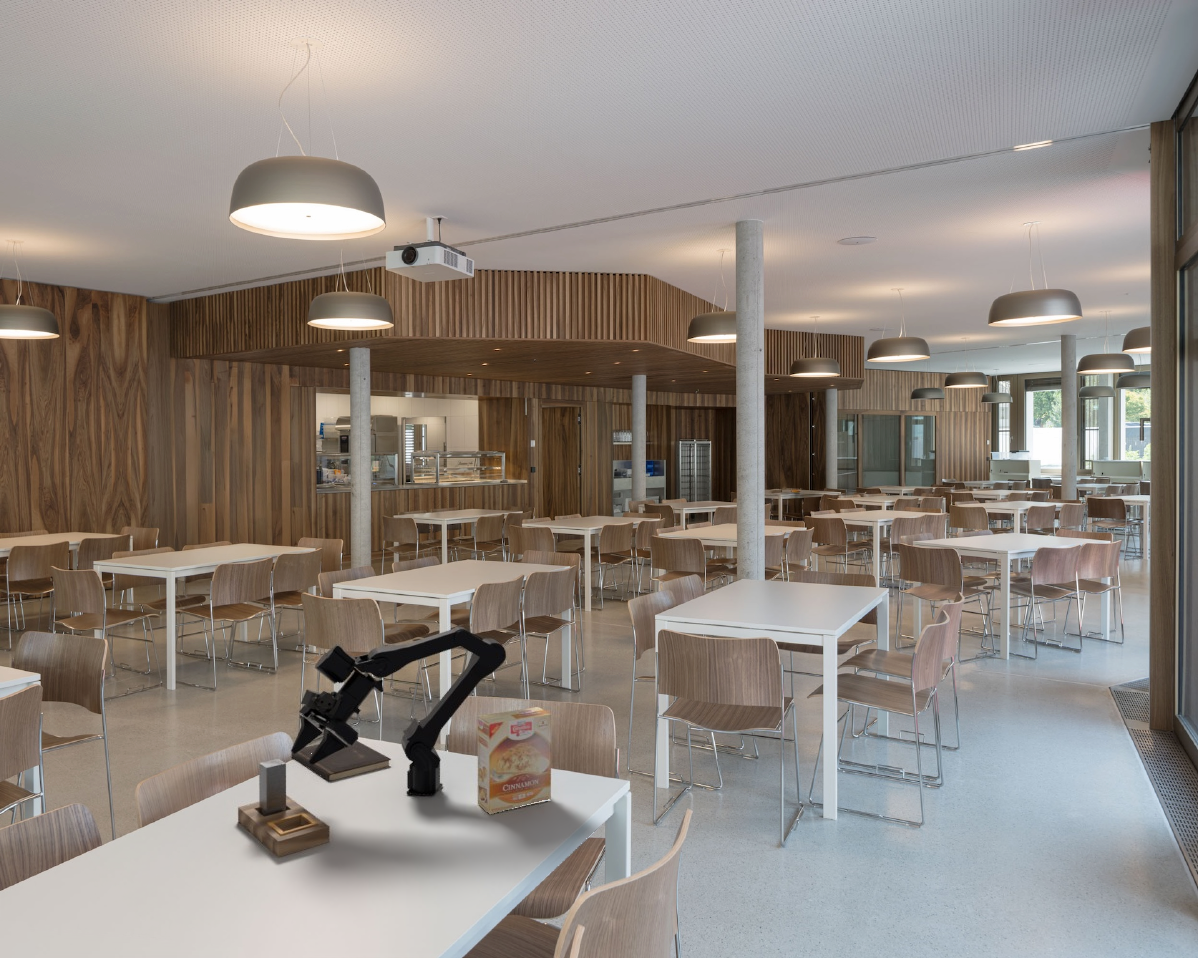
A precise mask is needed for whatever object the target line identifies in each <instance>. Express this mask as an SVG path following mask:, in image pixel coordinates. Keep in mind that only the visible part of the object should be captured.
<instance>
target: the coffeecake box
mask: <svg viewBox="0 0 1198 958" xmlns="http://www.w3.org/2000/svg"><path fill="white" fill-rule="evenodd" d="M548 799H551V800H552V713H550V712H549V711H547V710H545V709H543V708H541V707H540V706H535V707H529V708H522V709H515V710H508V711H502V712H496V713H489V714H483V715H477V805H478V804H479V806H480V807H481V808H482V809H483V810H484V811H485V810H486V811H485V812H486V813H487V812H488V813H489V814H490V815H494V813H495V814H498V813H497V812H499V813H502V811H503V810H508V809H512V808H515V807H520V806H522V805H527V804H531V803H534V802H539V801H542V800H548ZM512 810H513V809H512ZM508 811H509V810H508ZM503 812H504V811H503ZM488 813H487V814H488ZM489 814H488V815H489Z"/></svg>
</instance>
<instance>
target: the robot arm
mask: <svg viewBox="0 0 1198 958" xmlns="http://www.w3.org/2000/svg"><path fill="white" fill-rule="evenodd" d="M459 647H461V648H463V649H465V650H467V651H468V652H470V653H471V656H470V657H469V660H468V664H467V666H466V668H465V669H464V671H463V672H462V673H461V674H460V675H459V676H458V678H457V679H456V680H455V681H454V683H453V684H452V685H451V686H450V687H449V689H448V690H447V691H446V693H445V694H444V695H443V696H442V697H441V699H440V700H439V701H438V702H437V704H436V705H435V706H434V707H433V708H432V710H431V711H430V713H428V714H427V716H426V717H424V718H423V719H421V720H420V721H419V720H418V719H417V718H416V717H414V718H413V720H412V721H411V723H410V724H409V726H408V727H407V728H406V729H404V730H403V731H402V732H403V735H402V738H401V747H402V750H403V752H404V755H405V757H406V758H407V759H408V760H409V761H411V763H409V766H408V767H409V769H408V770H407V771H406V772H407V773H406V776H407V778H406V779H407V780H406V788H407V791H406V794H407V795H409V796H413V795H414V796H426V797H427V796H428V797H429V796H430V797H433V796H436V795H437V793H438V792H439V790H440V789H441V788H442V787H443V785H444V784H443V783H442V782H441V757H440V755H439V754H438V752H437V750H436V748H435V745H436V744H437V741H438V738H439V735H440V733H441V731H442V730H443V728H444V727H445V726H446V724H447V723H448V722H449V721H450V720H451V718H452V717H453V716H454V714H455V713H456V712H457V711H458V710H459V708H461V706H462V704H464V702H465V700H466V699H468V696H470V694H471V693H472V692H473V691H474V690H475V688H476V687H477V686H478V685H479V683H480V682H481V681H482V680H484V679H485V678H487V677H488V676H490V675H492V674H493V673H494V672H495V671H496V670H498V668H500V667H501V666H502V665H503V664H504V662H505V661H506V659H507V651H506V649H505V647H504V646H503V645H502V644H501V642H498V641H497V640H495V639H494V638H490V637H489V638H483V637H481V636H479V635H477V634H476V633H473V632H471V631H468V630H467V629H466V628H465V627H463V626H456V627H454V628H452V629H450V630H446V631H442V632H439V633H437V634H434V635H430V636H428V637H424V638H421V639H417V640H414V641H412V642H409V643H406V644H394V645H393V644H392V645H391V644H390V645H385V646H378V647H374V648H372V649H371V650H370V651H369V653H365V654H361V655H357V656H352V655H350V654H349V652H348V653H347V651H345V650H344V648H343V647H342V646H341V645H339V644H338V643H336V644H335V645H334V646H333V647H332V648H330V649H329V650H328V651H327V652H325V653H323V654H322V656H321V657H320V658H319V660H317V661H316V664H315V665H314V669H315V670H317V671H318V672H319V673H320V674H322V675H323V676H324V677H325V678H327V679H328V680H329V681H330V682H331V683H333V684H343V683H344V684H343V685H342V686H341V687H340V688H339V690H338V691H335V690H334V691H331V692H327V691H325V690H323V691H321V692H318V691H314V690H310V689H308V688H307V689H306V690H305V693H304V695H303V696H302V699H301V702H300V704H301V705H303V706H302V707H301V709H299V711H298V713H299V717H298V718H299V719H300V725H301V726H300V727H299V731H298V734H297V736H296V738H295V740H294V743H293V745H292V747H291V750H290V752H291V754H292V753H294V754H296V753H297V752H298V751H300V750H301V749H303V748H304V747H307V746H308V745H309V744H310V743H312V742H313V741H314V740H316V739H317V738H318V737H320V736H321V735H323V736H322V739H321V741H320V742H319V745H318V744H317V745H318V747H317V748H316V750H315V751H314V753H313V754H312V756H311V758H310V759H309V761H308V763H310V764H311V765H313V764H315V763H317V762H319V761H320V760H322V759H324V758H326V757H328V756H329V755H331V754H333V753H335V752H337V751H339V750H341V749H343V748H347V747H348V746H347V745H346V744H349V745H351V746H353V745H354V744H355V743H356V741H358V740H359V732H358V731H357V730H355V729H354V728H353V727H352V726H350V725H349V724H348V722H349V720H350V719H351V718H352V716H353V715H354V714H356V715H359V714H360V712H361V711H362V710H361V709H360V708H359V707H361V705H362V704H363V703H364V702H365V700H366V699H367V697H369V695H370V694H371V692H372V691H373V690H374V691H376V692H377V693H383V692H384V686H383V682H384V680H383V678H387V677H389V676H391V675H393V674H394V673H397V672H398V671H400V670H402V669H403V668H405V667H406V666H407V665H409V664H411V663H413V662H415V661H419V660H423V659H426V658H428V657H431V656H435V655H437V654H440V653H444V652H447V651H449V650H453V649H455V648H459ZM371 674H372V675H373V676H374V677H373V676H372V675H371ZM375 677H377V678H378V679H375Z"/></svg>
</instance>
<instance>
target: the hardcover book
mask: <svg viewBox="0 0 1198 958" xmlns="http://www.w3.org/2000/svg"><path fill="white" fill-rule="evenodd" d="M319 744H320V743H319ZM319 744H314V745H309V746H308V745H307V746H305V747H304V748H303V749H301V750H300V751H298V752H297V753H296V754H294V753H292V752H291V754H290V755H291V758H293V759H294V760H295V761H296V762H298V763H300V764H302V765H304V766H305V765H306V766H307V767H306V766H305V767H306V768H308V767H309V768H310V770H311V771H312V770H313V771H312V772H314V773H315V772H316V773H315V774H317V775H318V774H319V775H318V776H320V775H321V776H320V777H322V778H323V779H324V780H326V781H327V780H328V782H330V780H331V781H334V780H339V779H342V778H347V777H349V776H350V777H351V776H354V775H358V774H362V773H363V774H364V773H366V772H370V771H374V770H378V769H379V770H380V769H383V768H387V767H389V765H390V761H391V760H392V759H391V758H390V757H388V756H386V755H385V754H382V753H381V752H379V751H377V750H376V749H373V748H372V747H369V746H367V745H366V744H364V743H362V742H360V741H358V740H357V741H356V743H355V744H354V745H353V746H351V745H349V744H346V745H347V746H348V747H347V748H343V749H341V750H339V751H337V752H335V753H333V754H331V755H329V756H328V757H326V758H324V759H322V760H320V761H319V762H317V763H315V764H313V765H311V764H310V763H308V761H309V759H310V758H311V756H312V754H313V753H314V751H315V750H316V748H317V747H318V745H319ZM311 753H312V754H311ZM309 768H308V769H309Z"/></svg>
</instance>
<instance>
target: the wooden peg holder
mask: <svg viewBox="0 0 1198 958" xmlns="http://www.w3.org/2000/svg"><path fill="white" fill-rule="evenodd" d="M237 817H238V820H237V822H238V823H239V822H240V823H239V824H240V825H241V826H243V827H244V829H246V828H247V829H246V830H247V831H248V830H249V831H250V832H249V833H250V834H251V835H253V836H254V837H255V838H256V839H257V838H258V839H259V840H258V839H257V840H258V841H259V842H261V843H262V844H263V845H264V846H265V847H266V848H268V850H270V851H271V852H272V853H273V855H275V856H277V858H280V857H284V856H286V855H287V856H288V855H291V854H295V853H297V852H300V851H304V850H307V849H311V848H314V847H317V846H320V845H323V844H327V843H330V826H329V825H328V824H326V823H325V822H324V821H322V820H321V819H320V818H319V817H318V816H316V815H314V814H313V813H311V812H310V811H309V810H307V809H306V808H304V807H303V805H301V804H299V803H298V802H297V801H296V800H293V799H292V798H291V797H290V796H288V795H287V794H286V811H283V812H280V813H276V814H272V815H269V816H265V817H264V816H263V815H261V814H260V813H259V801H257V802H252V803H249V804H245V805H240V806H238V807H237Z"/></svg>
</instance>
